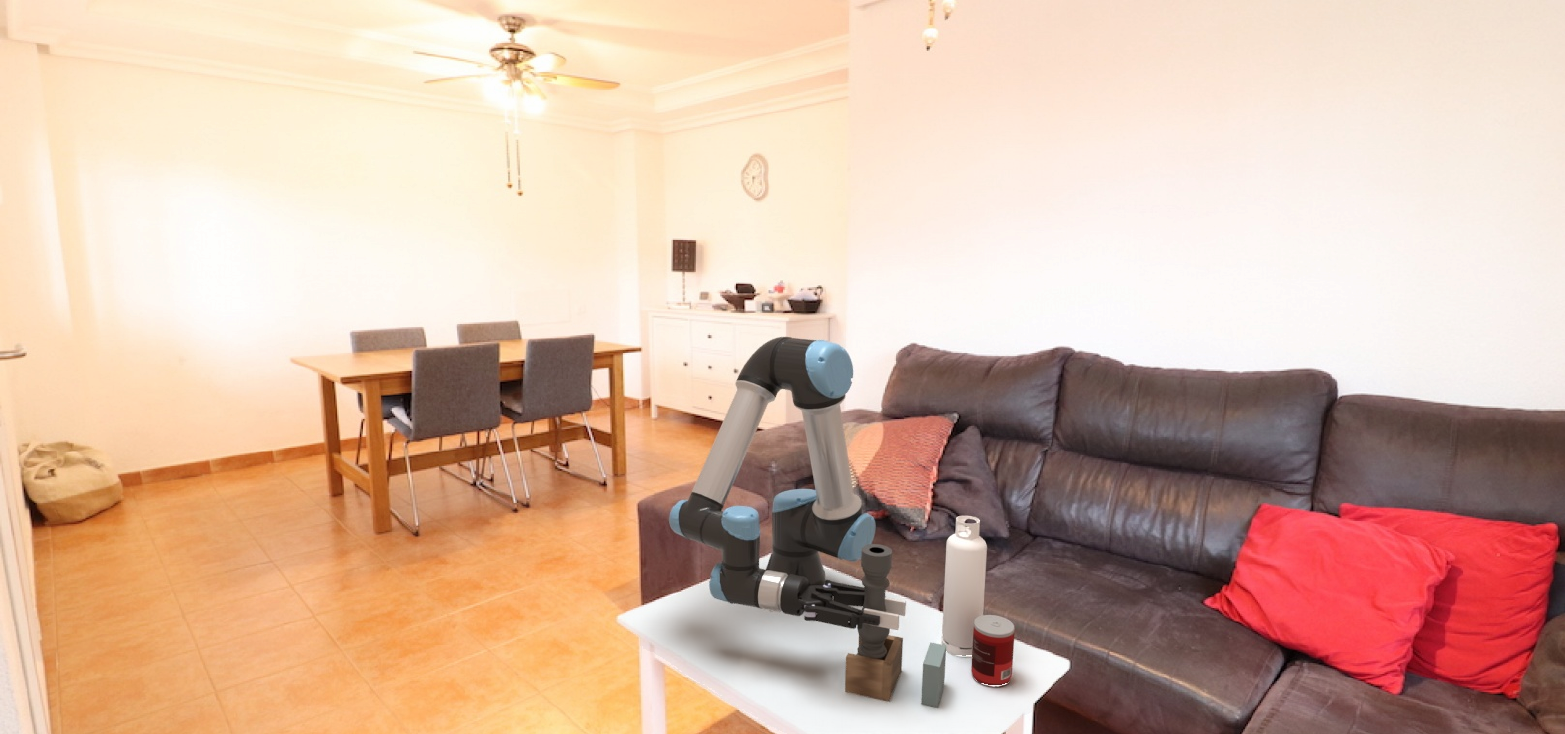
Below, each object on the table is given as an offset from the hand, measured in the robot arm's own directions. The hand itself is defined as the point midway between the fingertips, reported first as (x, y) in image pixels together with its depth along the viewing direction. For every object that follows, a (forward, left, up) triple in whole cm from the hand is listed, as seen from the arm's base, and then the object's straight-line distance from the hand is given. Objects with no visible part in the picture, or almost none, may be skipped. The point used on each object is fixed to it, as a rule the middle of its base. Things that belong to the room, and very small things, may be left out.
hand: (901, 615), depth 137 cm
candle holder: (+1, -5, -13) cm, 14 cm away
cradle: (0, -6, -15) cm, 16 cm away
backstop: (-3, +6, -15) cm, 16 cm away
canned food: (-15, +13, -15) cm, 25 cm away
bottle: (-22, +4, -15) cm, 27 cm away
